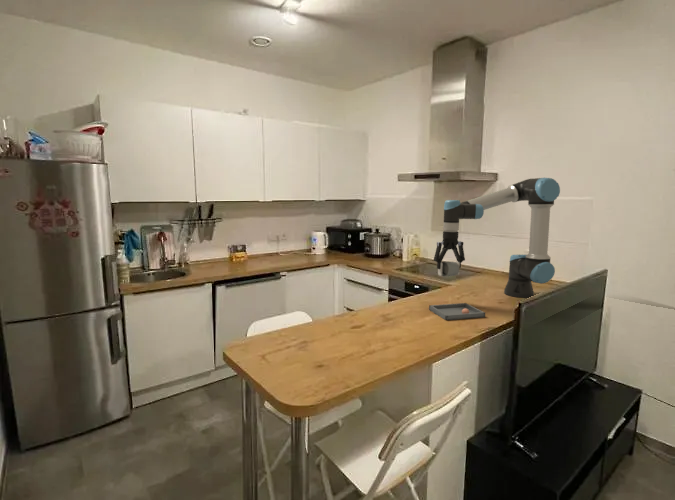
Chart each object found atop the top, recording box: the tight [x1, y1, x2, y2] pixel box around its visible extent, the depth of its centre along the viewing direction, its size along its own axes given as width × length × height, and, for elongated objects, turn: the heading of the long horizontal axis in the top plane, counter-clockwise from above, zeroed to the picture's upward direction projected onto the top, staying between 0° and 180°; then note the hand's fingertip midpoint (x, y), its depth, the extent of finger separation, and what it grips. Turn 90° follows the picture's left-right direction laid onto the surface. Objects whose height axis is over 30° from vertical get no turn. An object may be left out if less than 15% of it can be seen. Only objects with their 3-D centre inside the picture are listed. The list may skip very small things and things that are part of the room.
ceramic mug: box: [441, 260, 460, 278], centre depth 191 cm, size 11×8×8 cm
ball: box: [462, 308, 469, 314], centre depth 172 cm, size 3×3×3 cm
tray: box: [428, 302, 486, 321], centre depth 177 cm, size 20×16×2 cm
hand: (448, 274), depth 190 cm, fingers closed on ceramic mug, 9 cm apart
